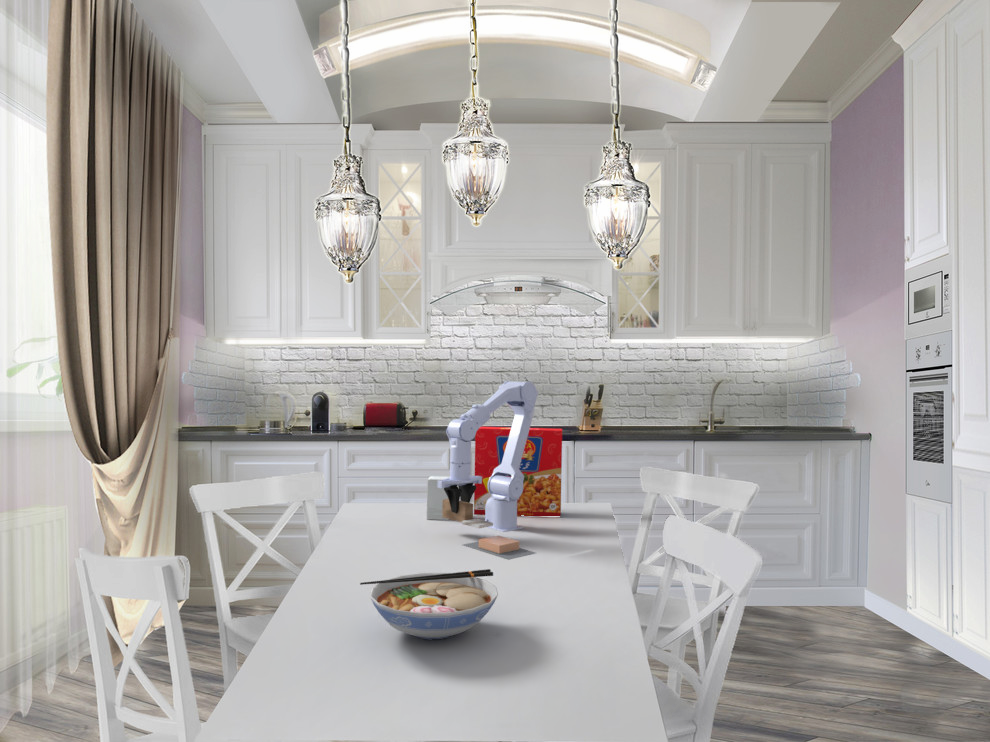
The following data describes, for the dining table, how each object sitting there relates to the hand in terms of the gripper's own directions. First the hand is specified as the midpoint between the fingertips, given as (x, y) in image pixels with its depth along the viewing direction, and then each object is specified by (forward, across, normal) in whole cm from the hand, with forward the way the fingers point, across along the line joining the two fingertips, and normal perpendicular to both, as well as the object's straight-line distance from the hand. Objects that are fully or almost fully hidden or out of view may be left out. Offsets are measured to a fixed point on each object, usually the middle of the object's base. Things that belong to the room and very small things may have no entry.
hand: (459, 511), depth 191 cm
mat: (+7, 0, -16) cm, 18 cm away
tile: (+6, 0, -12) cm, 14 cm away
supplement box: (+8, +12, +25) cm, 28 cm away
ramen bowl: (+8, -47, -50) cm, 69 cm away
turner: (+2, 0, -2) cm, 3 cm away
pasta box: (+8, +36, +13) cm, 39 cm away
